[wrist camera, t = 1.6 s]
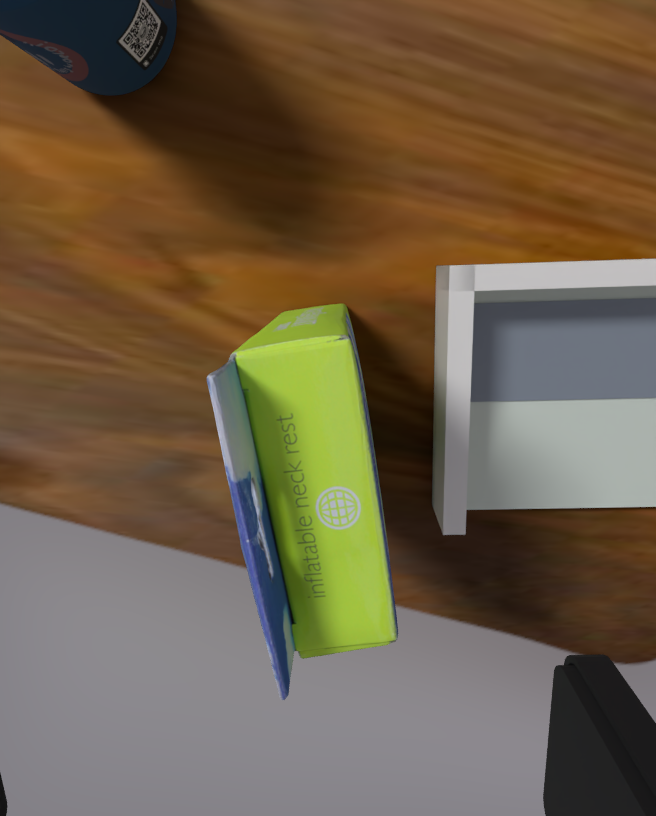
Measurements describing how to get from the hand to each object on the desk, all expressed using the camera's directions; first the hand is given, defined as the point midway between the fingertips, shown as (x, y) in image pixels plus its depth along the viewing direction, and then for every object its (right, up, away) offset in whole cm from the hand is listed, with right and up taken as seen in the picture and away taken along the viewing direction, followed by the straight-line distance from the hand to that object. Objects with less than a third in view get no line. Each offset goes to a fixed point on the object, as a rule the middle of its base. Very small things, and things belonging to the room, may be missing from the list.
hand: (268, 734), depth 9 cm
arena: (+16, +6, +22) cm, 28 cm away
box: (+1, +6, +23) cm, 23 cm away
